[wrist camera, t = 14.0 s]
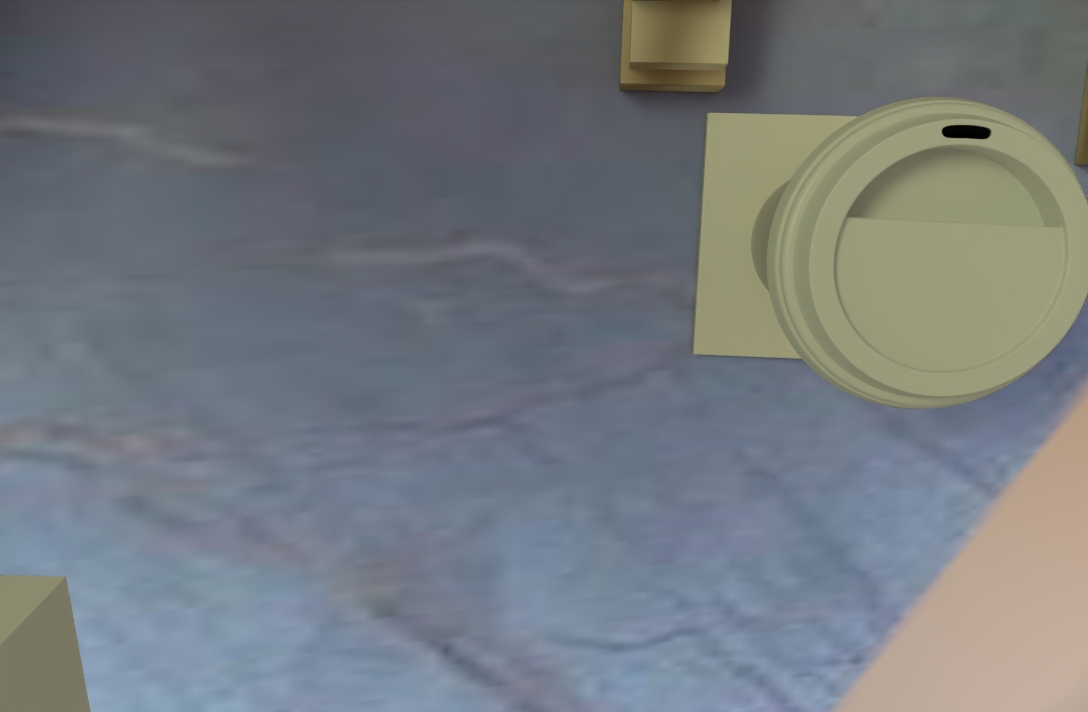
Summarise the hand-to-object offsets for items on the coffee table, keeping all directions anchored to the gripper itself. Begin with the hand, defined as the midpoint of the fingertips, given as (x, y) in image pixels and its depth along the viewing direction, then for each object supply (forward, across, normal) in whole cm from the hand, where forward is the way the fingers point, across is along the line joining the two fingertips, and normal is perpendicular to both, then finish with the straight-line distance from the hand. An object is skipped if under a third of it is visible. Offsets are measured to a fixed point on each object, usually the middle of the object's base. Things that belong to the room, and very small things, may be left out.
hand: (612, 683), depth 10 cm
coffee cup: (+30, +12, 0) cm, 33 cm away
